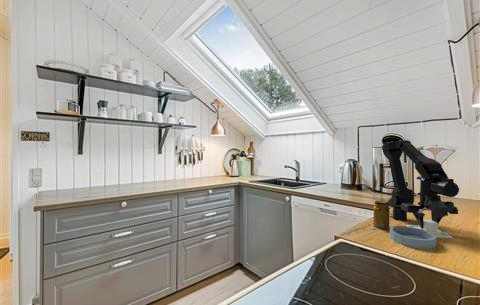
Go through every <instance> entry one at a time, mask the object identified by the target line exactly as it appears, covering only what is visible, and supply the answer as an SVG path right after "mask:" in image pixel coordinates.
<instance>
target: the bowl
mask: <svg viewBox="0 0 480 305" xmlns="http://www.w3.org/2000/svg"><path fill="white" fill-rule="evenodd" d="M389 239H391V240H392V241H393V242H394V243H396V244H398V245H402V246H405V247H409V248H416V249H421V250H430V249H435V248H436V247H437V238H436V236H435V235H434V234H432V233H430V232H428V231H425V230H422V229H418V228H414V227H407V226H406V225H395V226H391V227H389Z"/></svg>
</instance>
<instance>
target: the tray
mask: <svg viewBox="0 0 480 305" xmlns="http://www.w3.org/2000/svg"><path fill="white" fill-rule="evenodd" d="M405 226H407V227H414V228H419V224H418V225H413V224H411V225H410V224H406V225H405ZM434 235H435V236H436V238H438V239H439V238H441V239H453V236H451V235H449V234H448V233H446V232H444V231H442V230H440V229H438V234H434Z"/></svg>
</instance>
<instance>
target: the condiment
mask: <svg viewBox="0 0 480 305" xmlns="http://www.w3.org/2000/svg"><path fill="white" fill-rule="evenodd" d="M388 204H389V203H388V201H386V200H374V206H373V218H372V220H373V221H372V224H373V226H371V227H370V229H372V230H377V229H379V230H390V217H389V216H390V206H389V205H388Z"/></svg>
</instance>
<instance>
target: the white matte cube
mask: <svg viewBox="0 0 480 305" xmlns="http://www.w3.org/2000/svg"><path fill="white" fill-rule="evenodd" d="M418 229H421V228H420V226H419V228H418ZM422 230H425V231H428V232H430V233H432V234H438V230H439V224H438V223H437V222H434V221H432V219H427V218H426V219H424V218H423V229H422Z"/></svg>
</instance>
